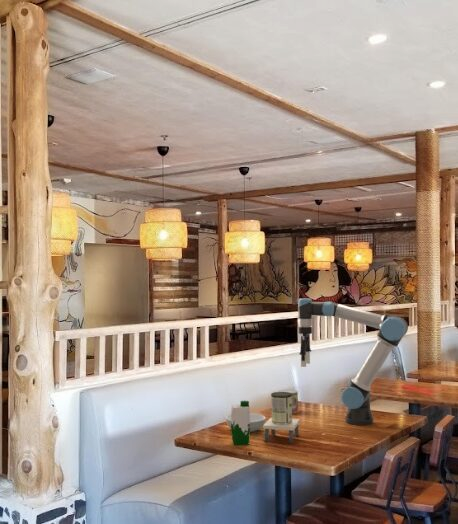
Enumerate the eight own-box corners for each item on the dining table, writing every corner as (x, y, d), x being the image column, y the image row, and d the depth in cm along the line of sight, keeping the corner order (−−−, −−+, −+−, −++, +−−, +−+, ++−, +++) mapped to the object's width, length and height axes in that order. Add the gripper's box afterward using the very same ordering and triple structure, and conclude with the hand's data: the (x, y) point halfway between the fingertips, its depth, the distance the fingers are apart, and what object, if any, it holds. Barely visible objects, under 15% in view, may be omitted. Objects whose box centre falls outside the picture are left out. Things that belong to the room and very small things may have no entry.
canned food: (286, 414, 357) (285, 393, 358) (275, 410, 367) (275, 390, 368) (301, 412, 363) (301, 391, 363) (290, 408, 373) (290, 389, 373)
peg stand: (299, 435, 308) (299, 419, 308) (293, 444, 291) (293, 427, 291) (270, 433, 312) (270, 417, 312) (263, 442, 295) (262, 425, 295)
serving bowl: (217, 430, 318) (217, 417, 318) (244, 424, 333) (244, 411, 334) (247, 437, 304) (247, 423, 304) (273, 430, 319) (273, 416, 320)
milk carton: (250, 445, 289) (250, 403, 289) (231, 446, 288) (231, 403, 289) (248, 440, 297) (248, 399, 298) (230, 441, 297) (230, 400, 297)
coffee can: (271, 419, 307) (271, 391, 308) (292, 420, 306) (291, 391, 307) (271, 424, 297) (270, 395, 297) (292, 424, 296) (291, 395, 296)
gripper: (302, 324, 349) (302, 362, 348) (294, 327, 325) (294, 367, 324) (315, 325, 347) (315, 362, 346) (308, 328, 323) (309, 368, 322)
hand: (305, 365), depth 335 cm, fingers open, 13 cm apart
